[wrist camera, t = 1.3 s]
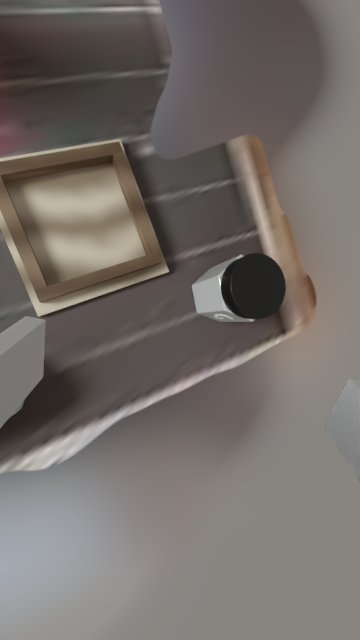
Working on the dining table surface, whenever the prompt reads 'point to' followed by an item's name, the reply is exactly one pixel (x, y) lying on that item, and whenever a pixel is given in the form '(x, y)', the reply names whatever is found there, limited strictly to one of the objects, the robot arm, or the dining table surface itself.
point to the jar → (240, 289)
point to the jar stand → (76, 224)
